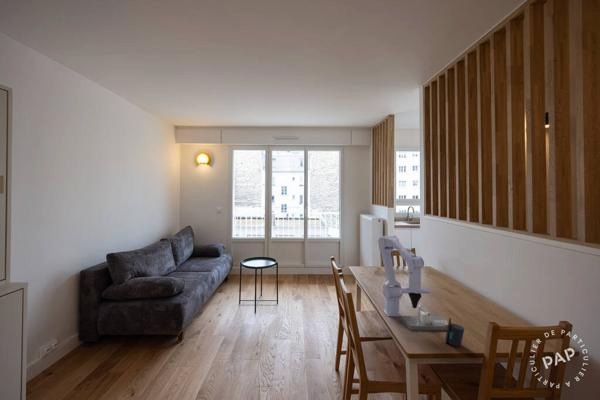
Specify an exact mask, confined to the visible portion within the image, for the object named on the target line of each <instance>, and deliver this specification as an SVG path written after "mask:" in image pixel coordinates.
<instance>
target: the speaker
mask: <svg viewBox="0 0 600 400" xmlns="http://www.w3.org/2000/svg"><path fill="white" fill-rule="evenodd" d="M451 320H452V318H451V317H449V319H448V322H449V323H448V328H447V330H446V335H445V344H446V345H447V344H449V345H451V346H453V347H457V348H458V347H460V348H461V346H462V342H463V337H464V332H465V327H464V326H462V325H459V324H457V323H452V321H451Z"/></svg>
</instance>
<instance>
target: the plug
mask: <svg viewBox="0 0 600 400" xmlns="http://www.w3.org/2000/svg"><path fill="white" fill-rule="evenodd" d="M431 316H432V314H431V313H430V316H428V315H427V314H425V313H424V312H423V311H422V312H420V322H421V323H422V324H431Z"/></svg>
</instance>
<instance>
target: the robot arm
mask: <svg viewBox="0 0 600 400" xmlns="http://www.w3.org/2000/svg"><path fill="white" fill-rule="evenodd" d="M377 243H378V249H379V252H380V255H381V259H382V264H383V268H384V269H383V270H384V275H385V280H386V281H385V282H384V284H382V294H383V296H384V308H383V309H382V311H383V312H384V313H385V315H386V316H387V317H401V316H403V314H401V313H400V300H401V298H402V297H403V295H404V294H407V295H408V297H409V298H410V302H411V307H412V308H413V309H417V308H418V304H419V302H420V300H421V298H422V297H423V296H422V294H427V295H430V294H431V290H430V289H429V288H422V269H423V268H424V266H425V261H424V259H423V258H422V257H421V256H417V254H415V253H414V252H413V251H411V249H410V248H405V247H404V246H403V245H402V244H401V242H400V241H399V238H398V237H397V235H386V236H385V235H380V236H379V238H378V241H377ZM394 250H396V251H397V252H398V253H399V255H400V257H401V258H402V260H404V261H405V262H406V266H407V271H408V287H406V288H402V286H401V285H402V284H401V283H400V282H399V281H398V280H397V279H396V274H395V268H394V264H393V263H394V262H393V259H392V258H393V257H392V254H391V253H392V252H393V251H394Z"/></svg>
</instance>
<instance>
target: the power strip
mask: <svg viewBox="0 0 600 400" xmlns="http://www.w3.org/2000/svg"><path fill="white" fill-rule="evenodd" d="M400 320H401V322H402V323H403V324H404V325H405V326H406V328H408V330H410V331H447V328H448V323H449V320H447V319H446V318H444V316H442V315H431V324H422V323H421V322H420V317H419V316H418V315H402V316H400Z"/></svg>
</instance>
